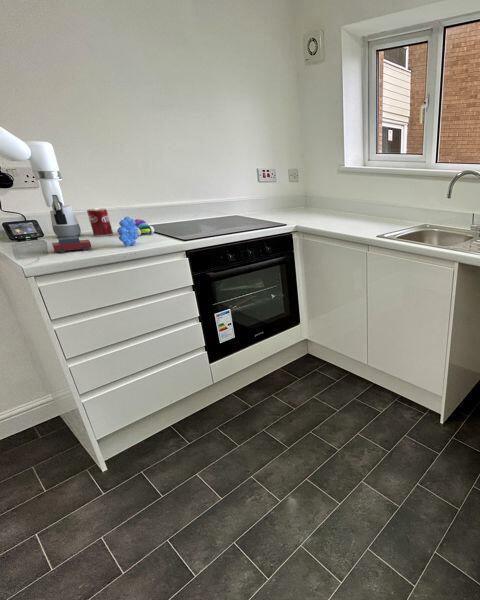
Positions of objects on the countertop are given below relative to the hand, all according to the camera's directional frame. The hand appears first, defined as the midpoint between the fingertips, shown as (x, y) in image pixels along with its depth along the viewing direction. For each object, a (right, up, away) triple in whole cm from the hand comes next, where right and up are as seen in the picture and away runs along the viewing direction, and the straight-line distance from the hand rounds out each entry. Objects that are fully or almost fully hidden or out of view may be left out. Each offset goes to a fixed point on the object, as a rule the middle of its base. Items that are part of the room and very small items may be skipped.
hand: (62, 224), depth 141 cm
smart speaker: (-17, -1, +21) cm, 27 cm away
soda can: (-6, 0, +27) cm, 27 cm away
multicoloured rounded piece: (+10, +2, +31) cm, 33 cm away
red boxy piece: (+4, -8, 0) cm, 9 cm away
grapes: (+20, -7, +9) cm, 23 cm away
